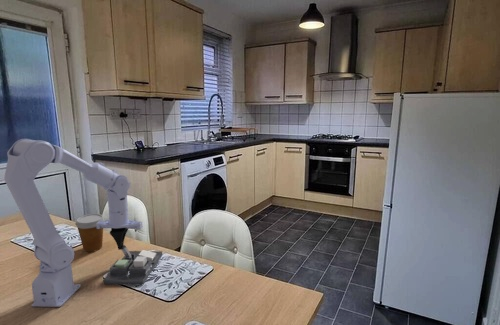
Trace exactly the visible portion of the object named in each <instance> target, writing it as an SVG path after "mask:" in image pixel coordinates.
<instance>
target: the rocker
mask: <svg viewBox="0 0 500 325" xmlns="http://www.w3.org/2000/svg"><path fill="white" fill-rule="evenodd" d="M140 251H141V252H140V254H139V255H138V256H144V257H147V260H153V259H154V257H155V256H156V253H154V252H150V251H151V250H150V251H149V250H146V249H142V250H140Z"/></svg>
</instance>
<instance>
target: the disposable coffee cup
mask: <svg viewBox="0 0 500 325" xmlns="http://www.w3.org/2000/svg"><path fill="white" fill-rule="evenodd" d="M99 221H106V220H105V218H104V216H103V214H100V213H90V214H85V215H82V216H80V217H78V218H77V219H76V222H75V226H76V228H77V230H78V235H79V238H80V241H81V245H82V249H83V251H84V252H85V253H90V252H91V253H92V252H96V251H99V250H100V249H102V248H103V243H104V242H103V239H104V228H100V229H97V227H96V223H98V222H99Z"/></svg>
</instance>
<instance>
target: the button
mask: <svg viewBox="0 0 500 325" xmlns="http://www.w3.org/2000/svg"><path fill="white" fill-rule="evenodd" d="M117 260H118V261H117ZM117 260H116V261H117V263H116V264H115V267H126V266H127V265H128V263H129V262H128V260H121V259H117Z"/></svg>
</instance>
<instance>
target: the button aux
mask: <svg viewBox="0 0 500 325" xmlns="http://www.w3.org/2000/svg"><path fill="white" fill-rule="evenodd" d="M133 262H134V267H144V266H145V264H146V263H147V257H144V256H137V257H136V259H135V260H134V261H133Z"/></svg>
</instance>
